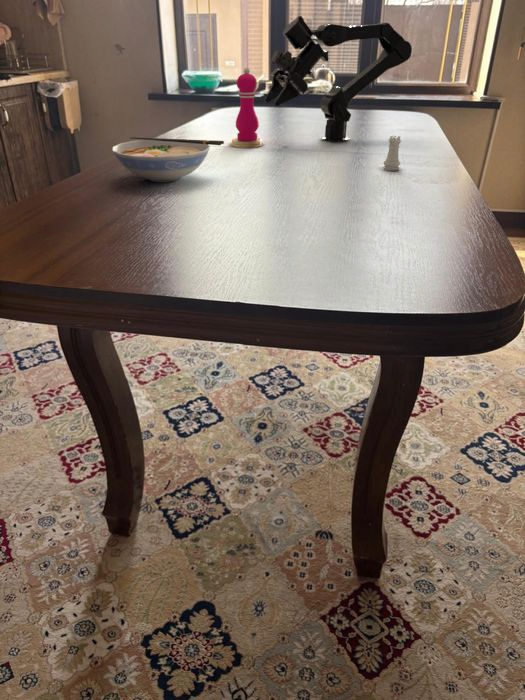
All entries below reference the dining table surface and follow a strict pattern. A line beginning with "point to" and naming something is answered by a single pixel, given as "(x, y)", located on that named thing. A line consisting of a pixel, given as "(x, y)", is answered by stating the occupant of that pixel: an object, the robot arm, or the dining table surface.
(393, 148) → the rook chess piece
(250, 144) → the beige flat disc
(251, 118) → the pepper mill
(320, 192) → the dining table surface
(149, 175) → the ramen bowl
